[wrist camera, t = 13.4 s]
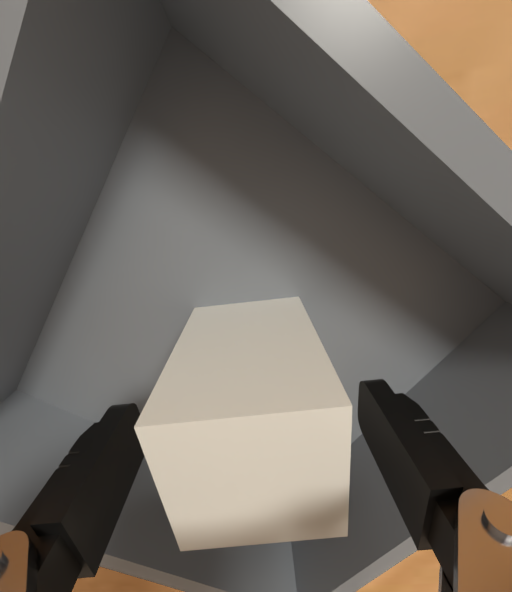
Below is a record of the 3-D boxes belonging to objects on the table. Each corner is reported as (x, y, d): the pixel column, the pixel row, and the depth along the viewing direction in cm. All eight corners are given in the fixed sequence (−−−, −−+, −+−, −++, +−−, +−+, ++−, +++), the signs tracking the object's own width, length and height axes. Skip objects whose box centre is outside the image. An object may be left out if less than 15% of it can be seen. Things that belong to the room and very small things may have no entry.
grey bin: (7, 381, 15) (-141, 495, 9) (167, -9, 9) (29, -352, 3) (287, 500, 19) (302, 626, 13) (515, 289, 13) (709, 355, 8)
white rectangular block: (212, 390, 14) (180, 551, 8) (194, 307, 12) (134, 427, 6) (303, 381, 14) (347, 536, 8) (298, 296, 12) (352, 406, 6)
